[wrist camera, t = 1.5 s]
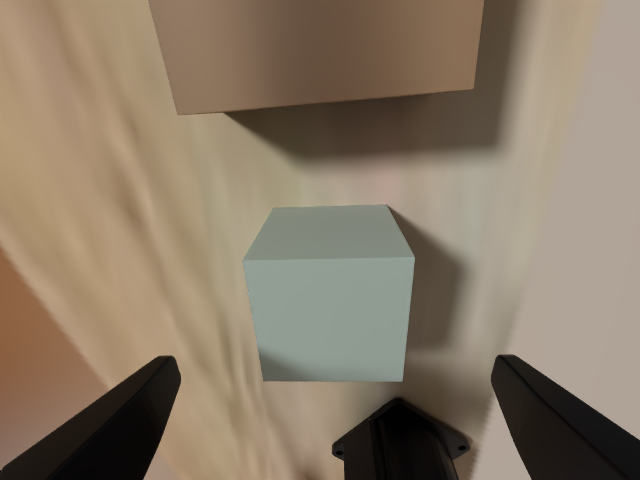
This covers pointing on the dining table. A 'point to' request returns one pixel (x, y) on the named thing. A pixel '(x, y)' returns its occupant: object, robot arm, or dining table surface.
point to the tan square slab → (313, 50)
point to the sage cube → (330, 294)
